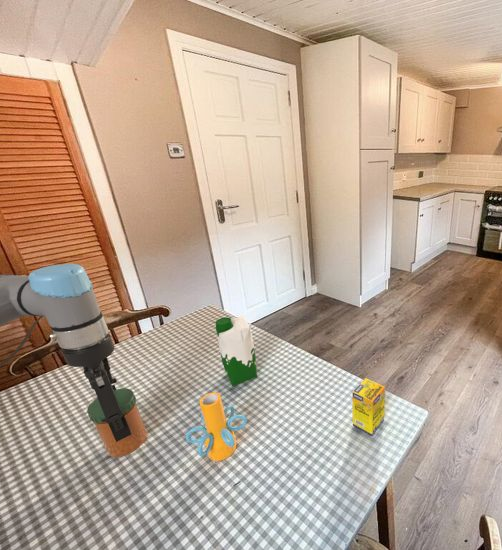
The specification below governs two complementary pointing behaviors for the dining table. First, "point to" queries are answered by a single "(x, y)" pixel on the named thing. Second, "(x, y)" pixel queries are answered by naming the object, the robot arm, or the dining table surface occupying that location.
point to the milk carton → (236, 349)
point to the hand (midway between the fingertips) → (119, 422)
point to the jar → (128, 442)
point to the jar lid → (124, 400)
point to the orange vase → (216, 428)
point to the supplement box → (368, 406)
